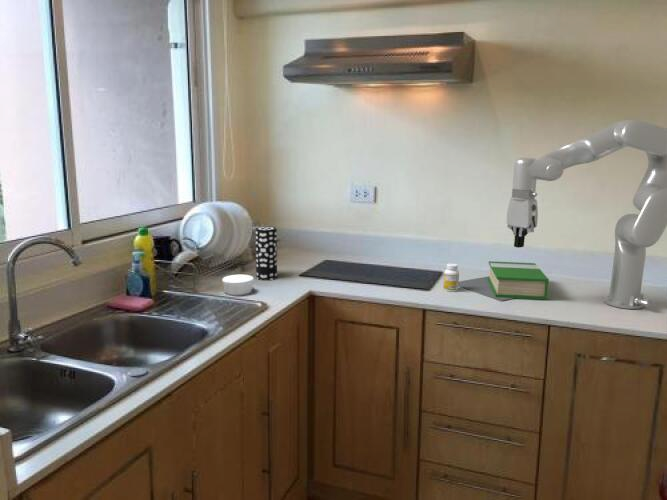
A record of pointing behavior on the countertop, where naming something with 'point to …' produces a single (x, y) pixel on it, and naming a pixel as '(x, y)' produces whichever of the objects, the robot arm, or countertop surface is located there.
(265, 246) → the spotted tube
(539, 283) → the hardback book
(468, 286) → the mat
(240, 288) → the ramekin
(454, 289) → the supplement bottle
